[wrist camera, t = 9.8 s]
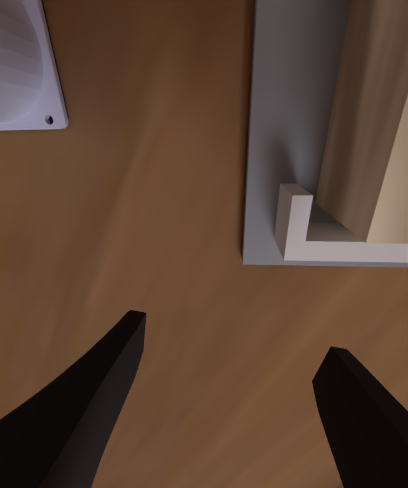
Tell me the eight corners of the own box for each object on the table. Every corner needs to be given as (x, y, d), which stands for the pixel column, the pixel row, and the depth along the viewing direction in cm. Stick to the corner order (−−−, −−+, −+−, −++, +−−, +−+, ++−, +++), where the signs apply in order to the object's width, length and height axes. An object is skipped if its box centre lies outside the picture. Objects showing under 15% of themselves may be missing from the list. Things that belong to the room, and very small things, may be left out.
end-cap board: (241, 257, 18) (246, 288, 15) (264, -176, 10) (286, -350, 6) (411, 260, 18) (459, 294, 14) (592, -214, 9) (836, -440, 5)
